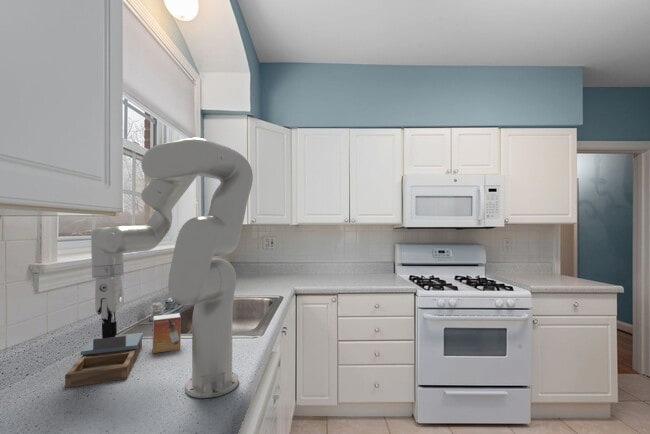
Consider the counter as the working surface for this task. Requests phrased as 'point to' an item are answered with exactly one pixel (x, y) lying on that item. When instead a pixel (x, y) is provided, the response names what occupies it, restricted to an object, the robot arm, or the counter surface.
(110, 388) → the counter surface
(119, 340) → the cover
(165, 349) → the small box
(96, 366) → the brown wooden shallow tray
